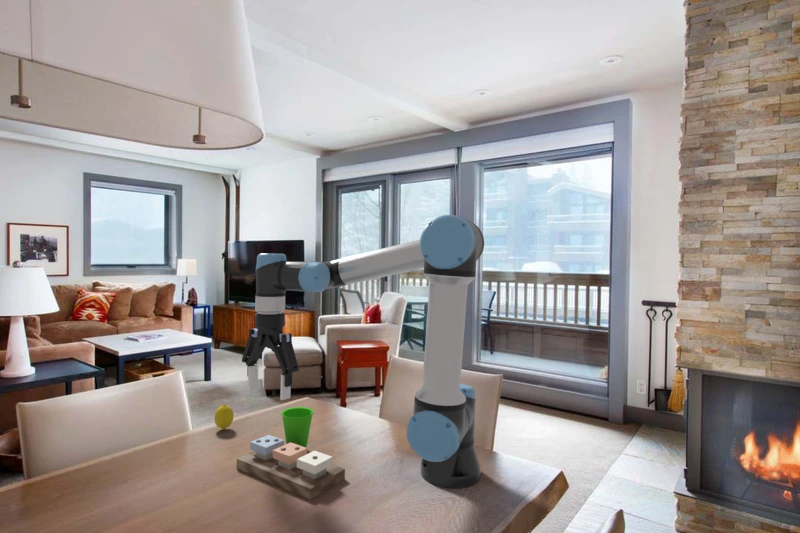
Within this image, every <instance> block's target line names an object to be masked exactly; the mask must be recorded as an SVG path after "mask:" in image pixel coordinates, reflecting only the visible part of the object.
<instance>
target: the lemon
mask: <svg viewBox="0 0 800 533" xmlns="http://www.w3.org/2000/svg"><path fill="white" fill-rule="evenodd" d="M233 421H234V412H233V409H232V407H231V406H229V405H227V404H224V403H223V404H222V405H220V406H219V407H217V409H216V410H215V414H214V424H215V425H216V426H217V427H218V428H219V429H221V430H223V431H225V430H226V429H227V428H229V427H230V426H231V425H232V423H233Z"/></svg>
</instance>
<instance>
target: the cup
mask: <svg viewBox="0 0 800 533" xmlns="http://www.w3.org/2000/svg"><path fill="white" fill-rule="evenodd" d="M314 413H315V411H314V409H312V408H310V407H308V406H307V407H305V406H296V407H295V406H294V407H290V408H286V409H284V410H282V411H281V413H280V415H281V417H282V422H283V428H284V429H283V430H284V437H285V445H286V444H288V443H290V442H291V443H294V444H297V445H300V446H303V447H306V448H307V449H308V442H309V441H308V440H309V435H310V431H311V424H312V418H313V415H314Z"/></svg>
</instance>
